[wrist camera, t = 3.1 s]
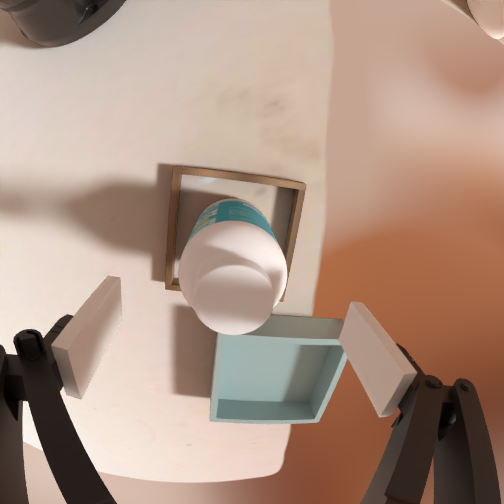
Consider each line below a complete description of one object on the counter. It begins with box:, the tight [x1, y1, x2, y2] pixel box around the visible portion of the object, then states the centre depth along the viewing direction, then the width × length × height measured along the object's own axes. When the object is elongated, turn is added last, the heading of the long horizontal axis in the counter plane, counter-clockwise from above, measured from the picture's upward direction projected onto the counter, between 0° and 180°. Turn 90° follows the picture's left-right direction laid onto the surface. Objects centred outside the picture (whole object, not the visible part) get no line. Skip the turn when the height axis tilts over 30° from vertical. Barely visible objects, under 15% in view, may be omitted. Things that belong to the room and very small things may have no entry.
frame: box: [165, 166, 306, 302], centre depth 28 cm, size 12×12×2 cm
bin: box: [210, 315, 348, 424], centre depth 33 cm, size 15×15×4 cm
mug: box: [467, 0, 504, 39], centre depth 14 cm, size 12×8×12 cm
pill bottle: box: [178, 198, 287, 335], centre depth 23 cm, size 8×7×14 cm
